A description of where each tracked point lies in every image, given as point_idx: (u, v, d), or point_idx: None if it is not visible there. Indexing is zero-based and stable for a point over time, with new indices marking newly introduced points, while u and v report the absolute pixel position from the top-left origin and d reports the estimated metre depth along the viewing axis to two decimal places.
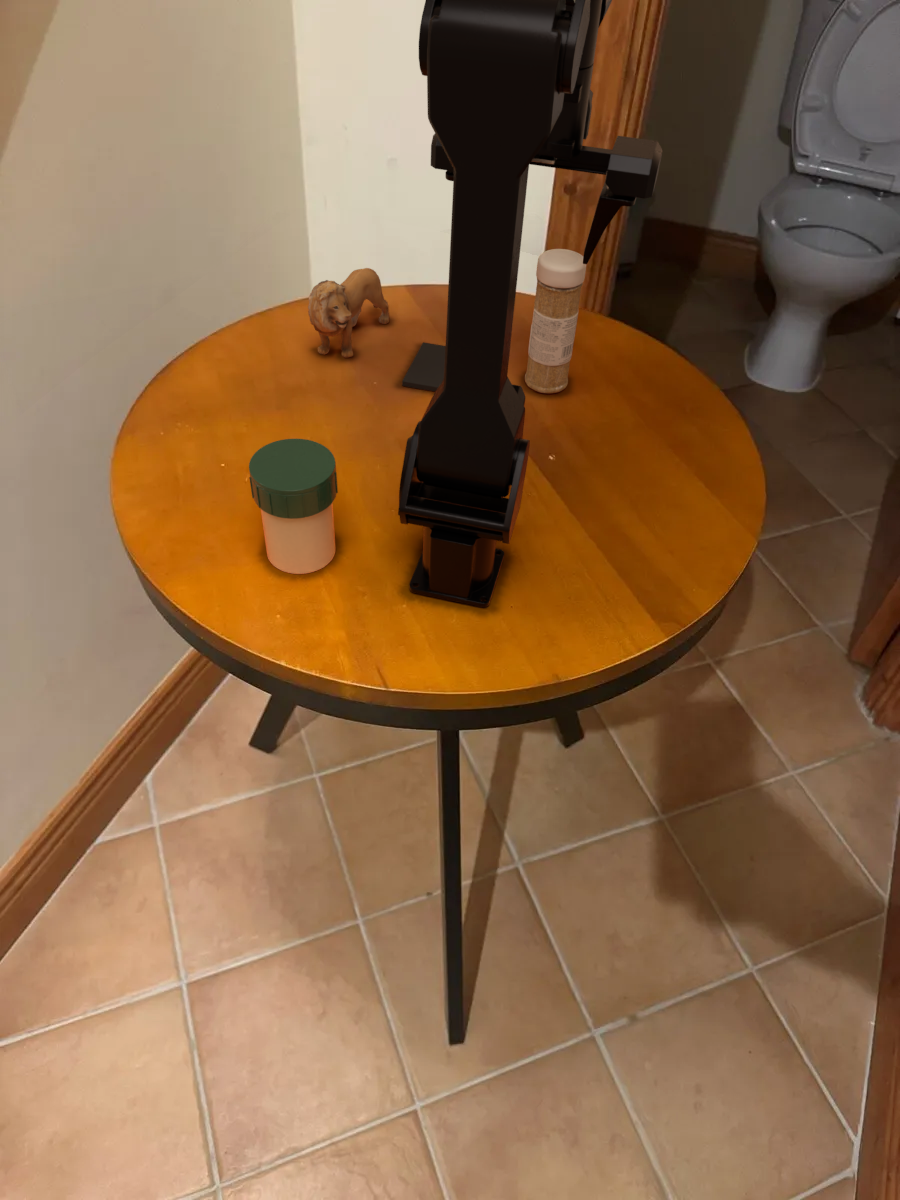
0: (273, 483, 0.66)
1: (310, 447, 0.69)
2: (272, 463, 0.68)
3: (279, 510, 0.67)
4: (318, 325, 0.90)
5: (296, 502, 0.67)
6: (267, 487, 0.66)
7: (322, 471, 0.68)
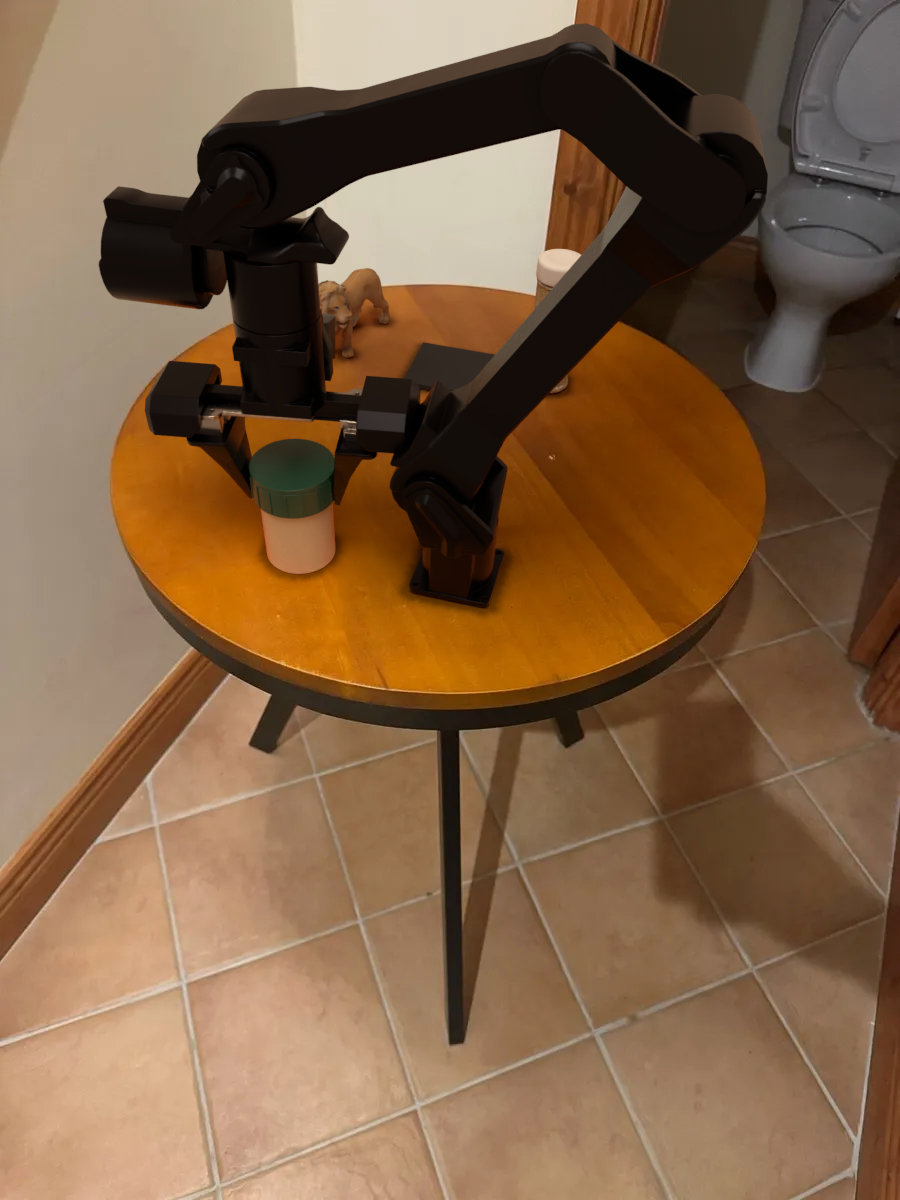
0: (273, 483, 0.66)
1: (310, 447, 0.69)
2: (272, 463, 0.68)
3: (279, 510, 0.67)
4: None
5: (296, 502, 0.67)
6: (267, 487, 0.66)
7: (322, 471, 0.68)
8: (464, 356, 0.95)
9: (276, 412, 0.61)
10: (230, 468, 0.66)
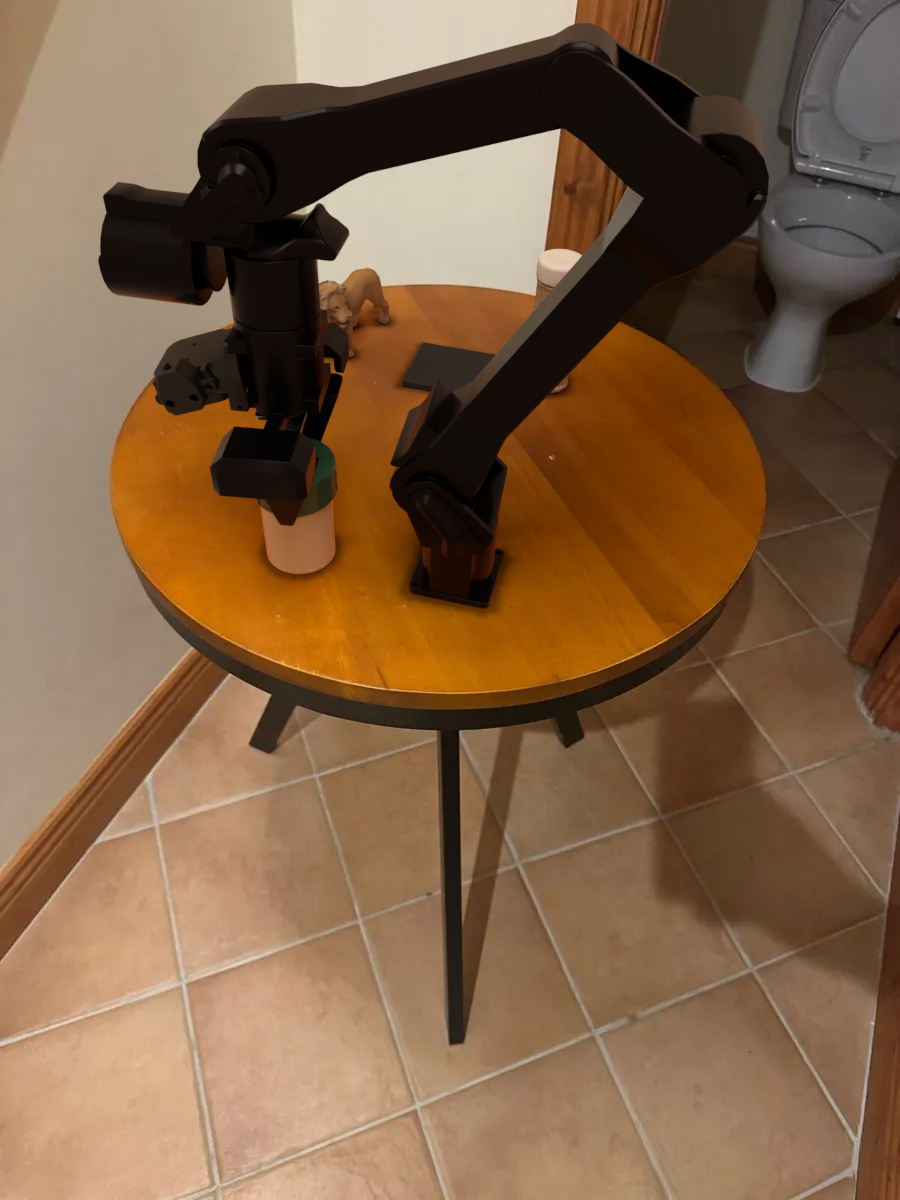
0: (323, 471, 0.67)
1: None
2: None
3: (334, 489, 0.69)
4: None
5: None
6: (328, 475, 0.67)
7: None
8: (464, 356, 0.95)
9: (325, 389, 0.63)
10: None
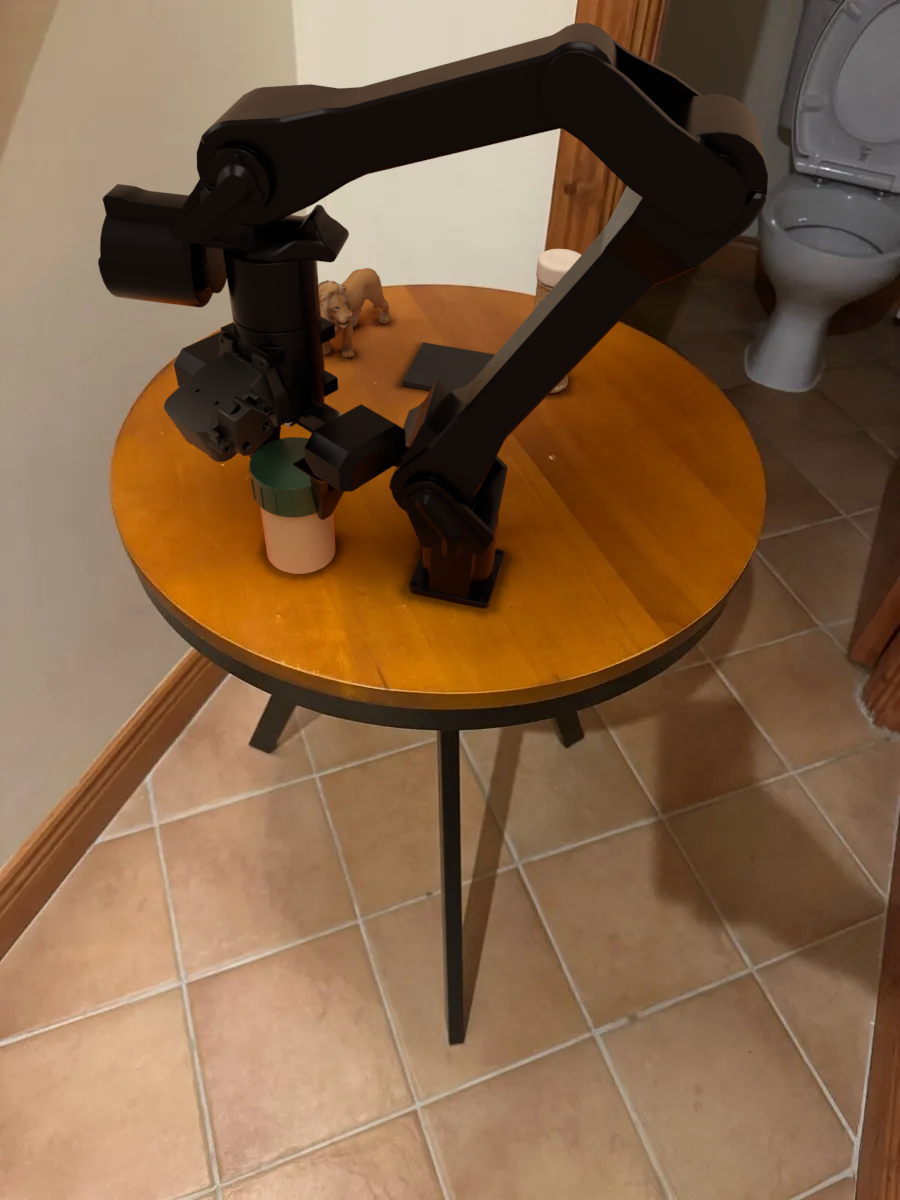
0: None
1: (261, 469, 0.67)
2: None
3: None
4: None
5: None
6: None
7: (278, 445, 0.69)
8: (464, 356, 0.95)
9: None
10: None
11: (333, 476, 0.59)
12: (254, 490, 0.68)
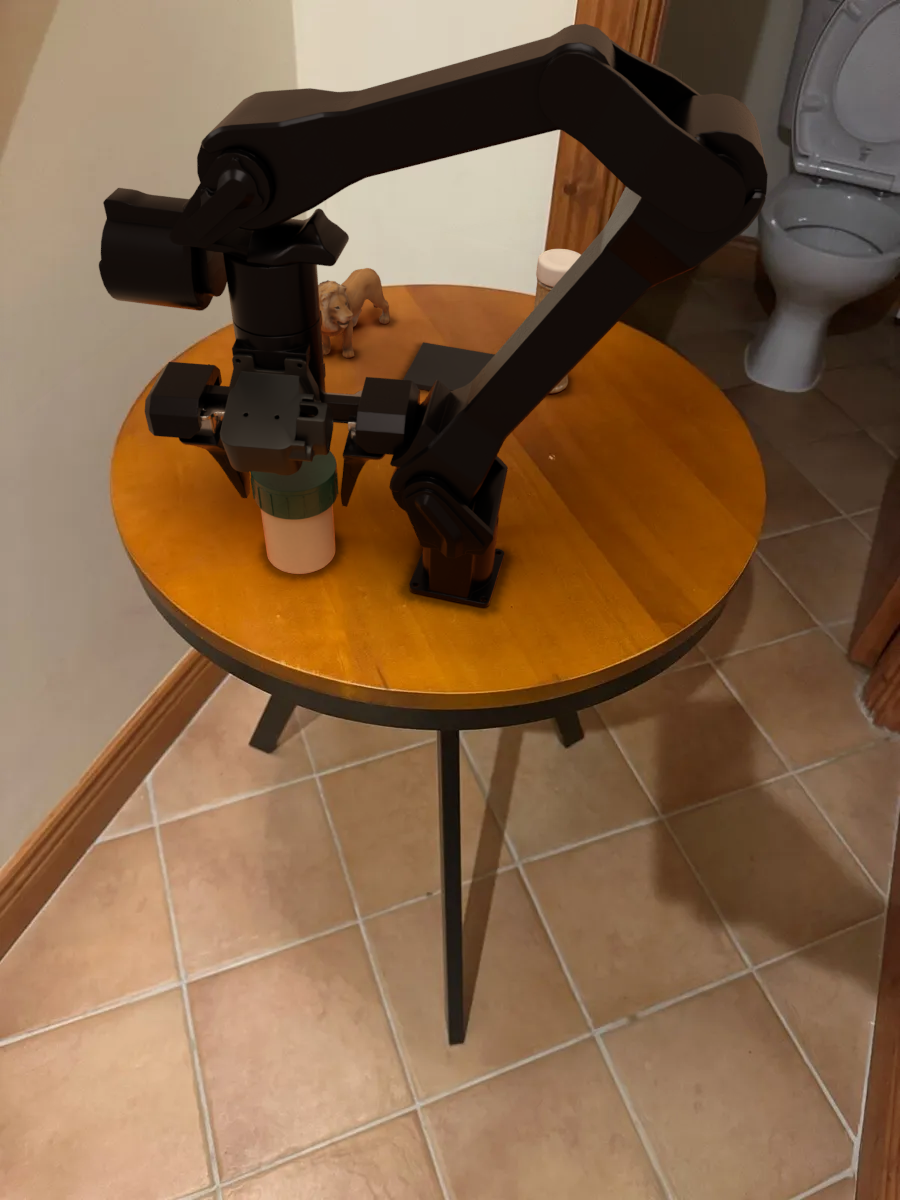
0: None
1: (274, 481, 0.67)
2: (313, 465, 0.68)
3: None
4: None
5: None
6: None
7: None
8: (464, 356, 0.95)
9: None
10: None
11: (395, 444, 0.62)
12: (274, 505, 0.67)
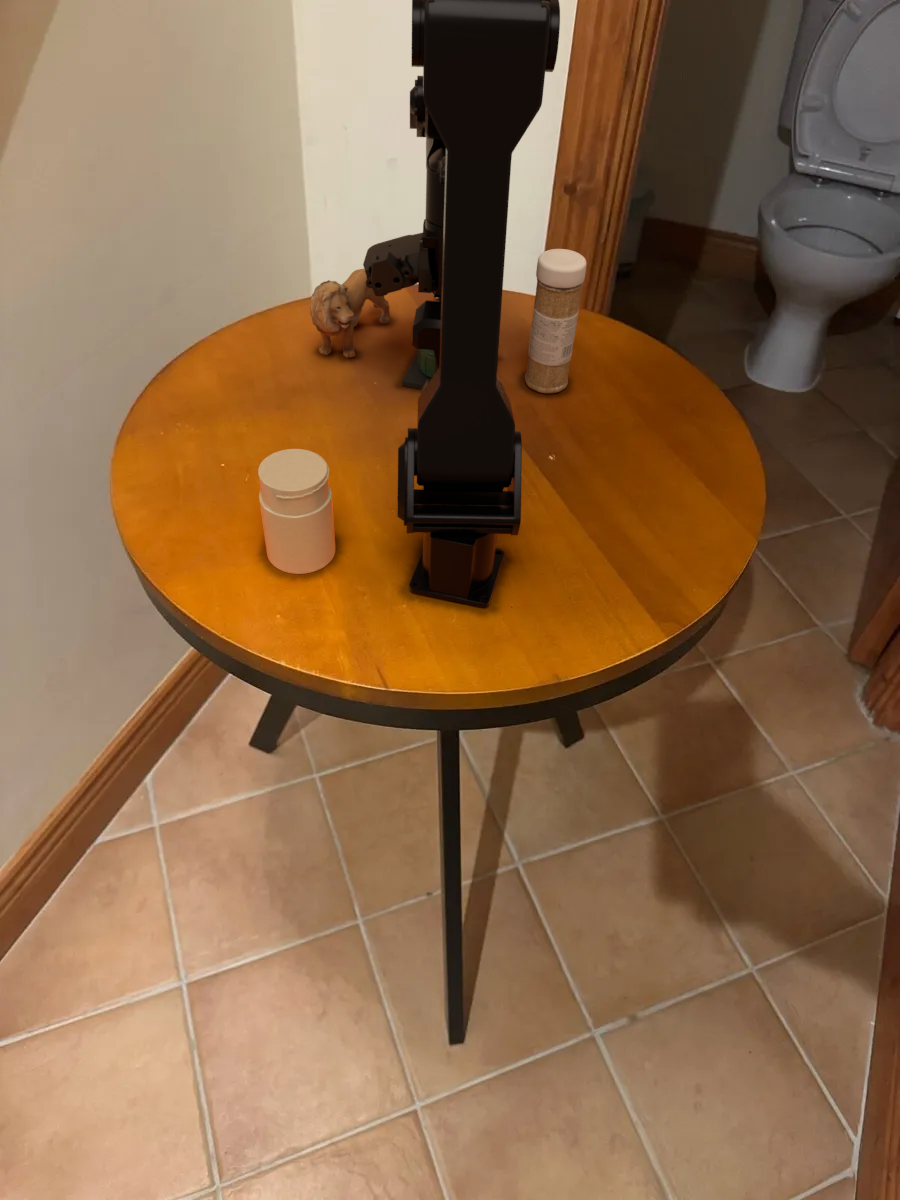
0: None
1: None
2: None
3: None
4: (321, 325, 0.90)
5: (418, 352, 0.92)
6: None
7: None
8: None
9: None
10: None
11: None
12: None
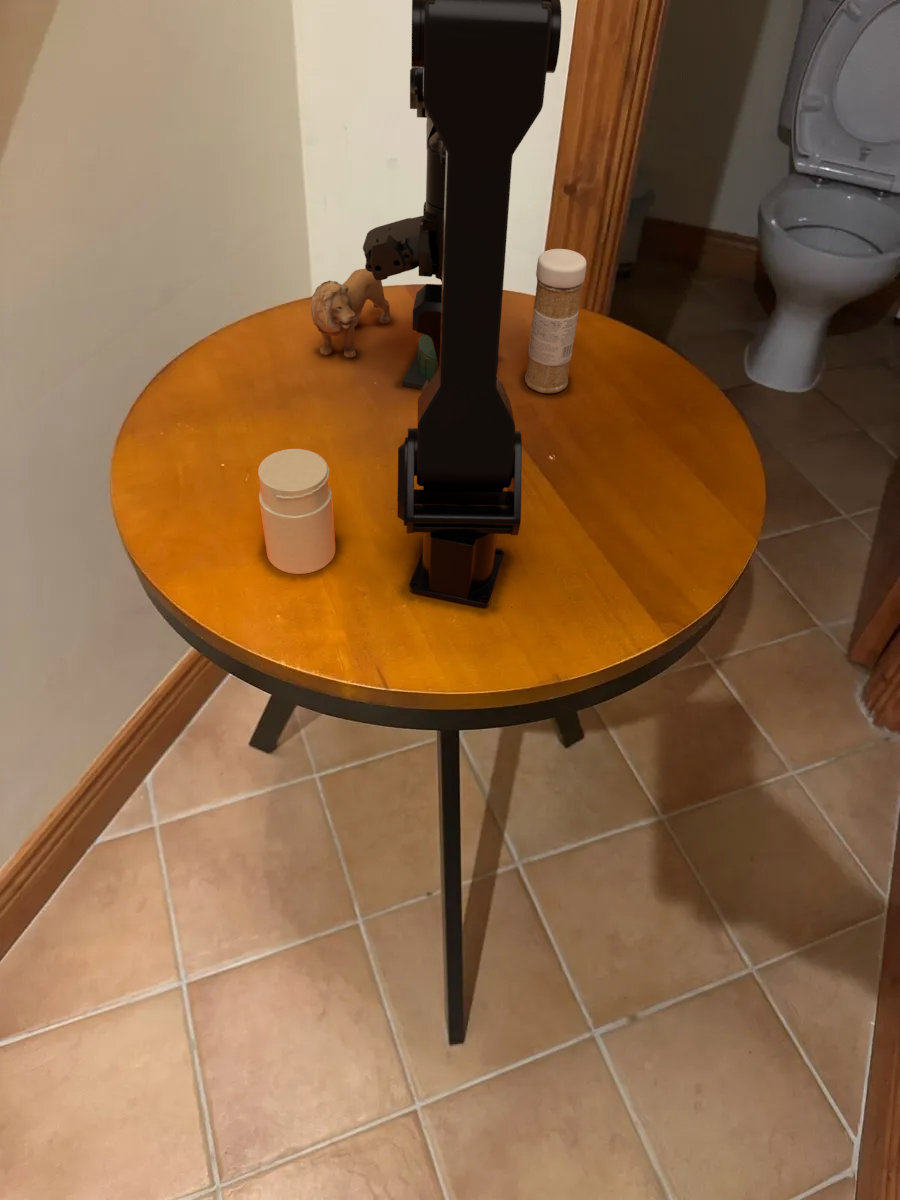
0: (426, 337, 0.92)
1: None
2: None
3: None
4: (322, 326, 0.90)
5: (418, 355, 0.92)
6: (422, 335, 0.93)
7: None
8: None
9: None
10: None
11: None
12: None
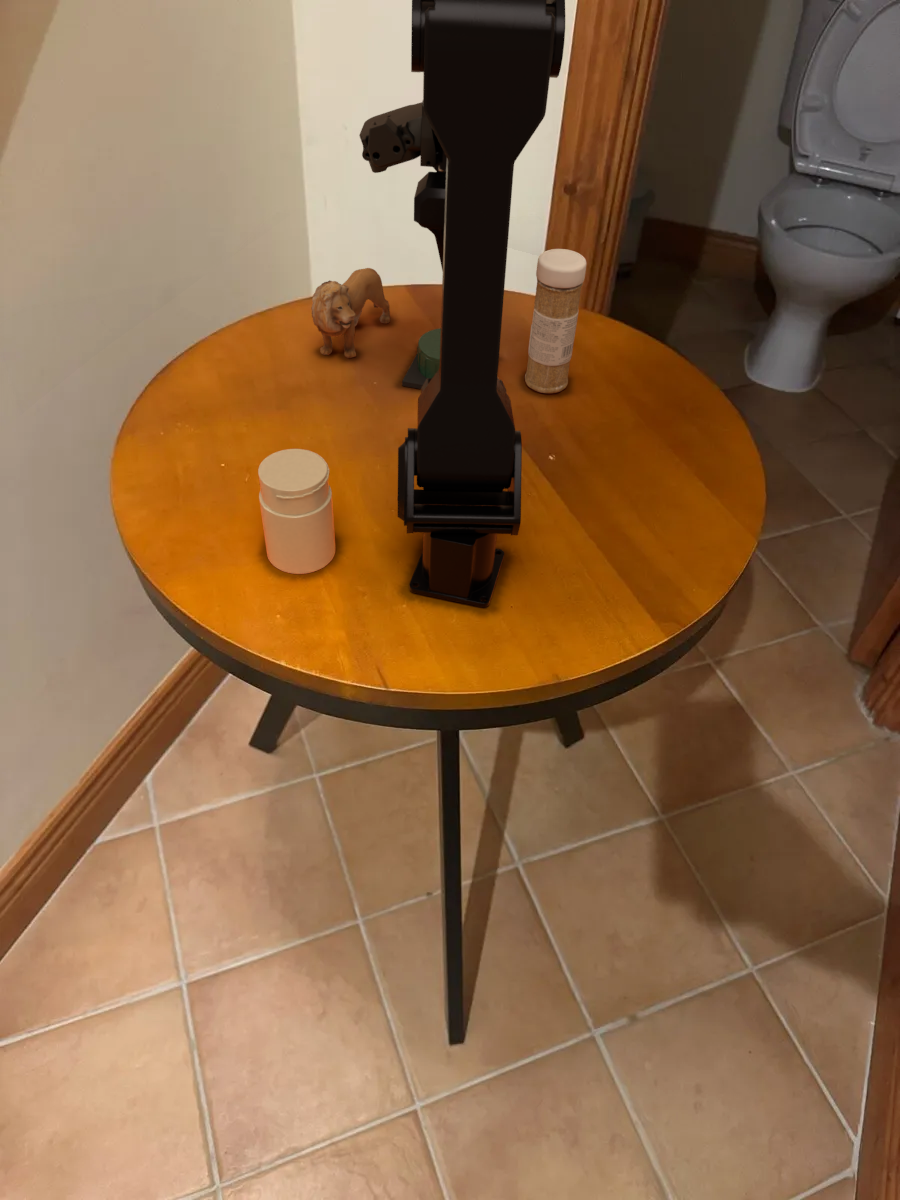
0: (426, 337, 0.92)
1: None
2: None
3: None
4: (322, 326, 0.90)
5: (418, 355, 0.92)
6: (422, 335, 0.93)
7: None
8: None
9: None
10: None
11: None
12: None
